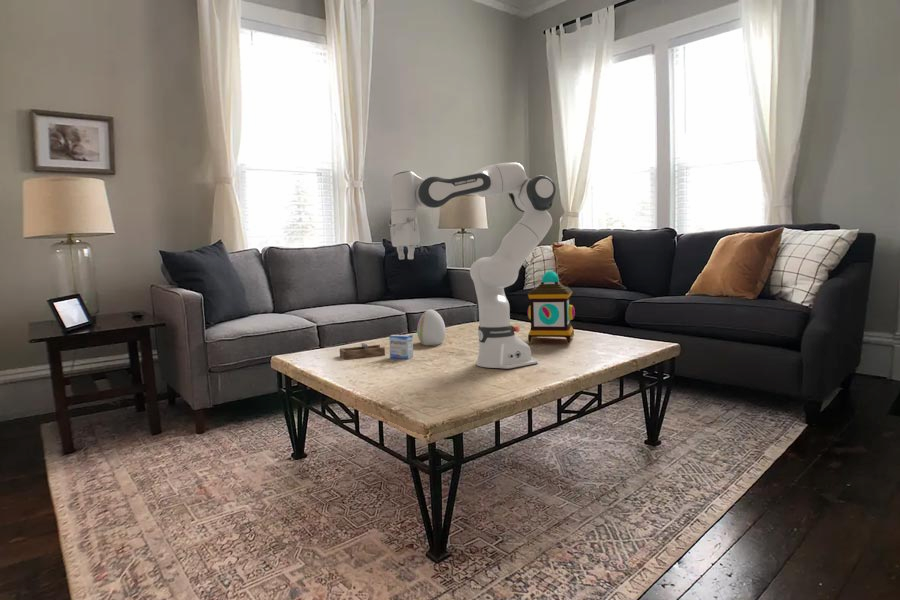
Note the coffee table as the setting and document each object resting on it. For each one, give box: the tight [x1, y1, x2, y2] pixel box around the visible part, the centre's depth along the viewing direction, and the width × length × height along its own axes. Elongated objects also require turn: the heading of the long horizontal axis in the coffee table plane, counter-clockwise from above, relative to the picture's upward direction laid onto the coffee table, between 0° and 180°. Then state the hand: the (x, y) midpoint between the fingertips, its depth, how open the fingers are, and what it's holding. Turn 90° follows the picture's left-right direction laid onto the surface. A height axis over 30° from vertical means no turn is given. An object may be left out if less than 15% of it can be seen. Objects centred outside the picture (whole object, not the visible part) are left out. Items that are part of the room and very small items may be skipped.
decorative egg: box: [416, 309, 447, 346], centre depth 235 cm, size 12×12×15 cm
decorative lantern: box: [527, 270, 576, 345], centre depth 233 cm, size 20×20×30 cm
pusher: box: [361, 342, 368, 349], centre depth 214 cm, size 1×5×4 cm, turn 23°
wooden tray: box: [339, 344, 386, 360], centre depth 214 cm, size 16×8×3 cm, turn 113°
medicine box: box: [388, 334, 414, 360], centre depth 206 cm, size 8×4×9 cm, turn 67°
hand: (406, 259), depth 190 cm, fingers open, 8 cm apart
